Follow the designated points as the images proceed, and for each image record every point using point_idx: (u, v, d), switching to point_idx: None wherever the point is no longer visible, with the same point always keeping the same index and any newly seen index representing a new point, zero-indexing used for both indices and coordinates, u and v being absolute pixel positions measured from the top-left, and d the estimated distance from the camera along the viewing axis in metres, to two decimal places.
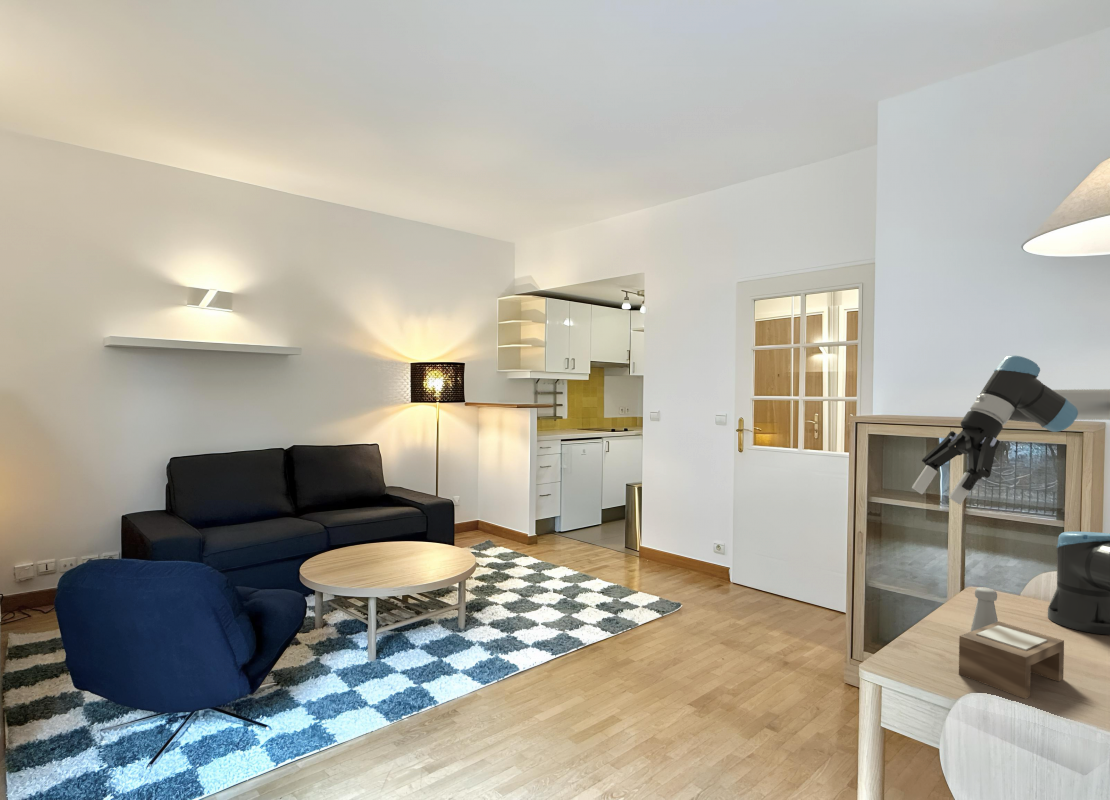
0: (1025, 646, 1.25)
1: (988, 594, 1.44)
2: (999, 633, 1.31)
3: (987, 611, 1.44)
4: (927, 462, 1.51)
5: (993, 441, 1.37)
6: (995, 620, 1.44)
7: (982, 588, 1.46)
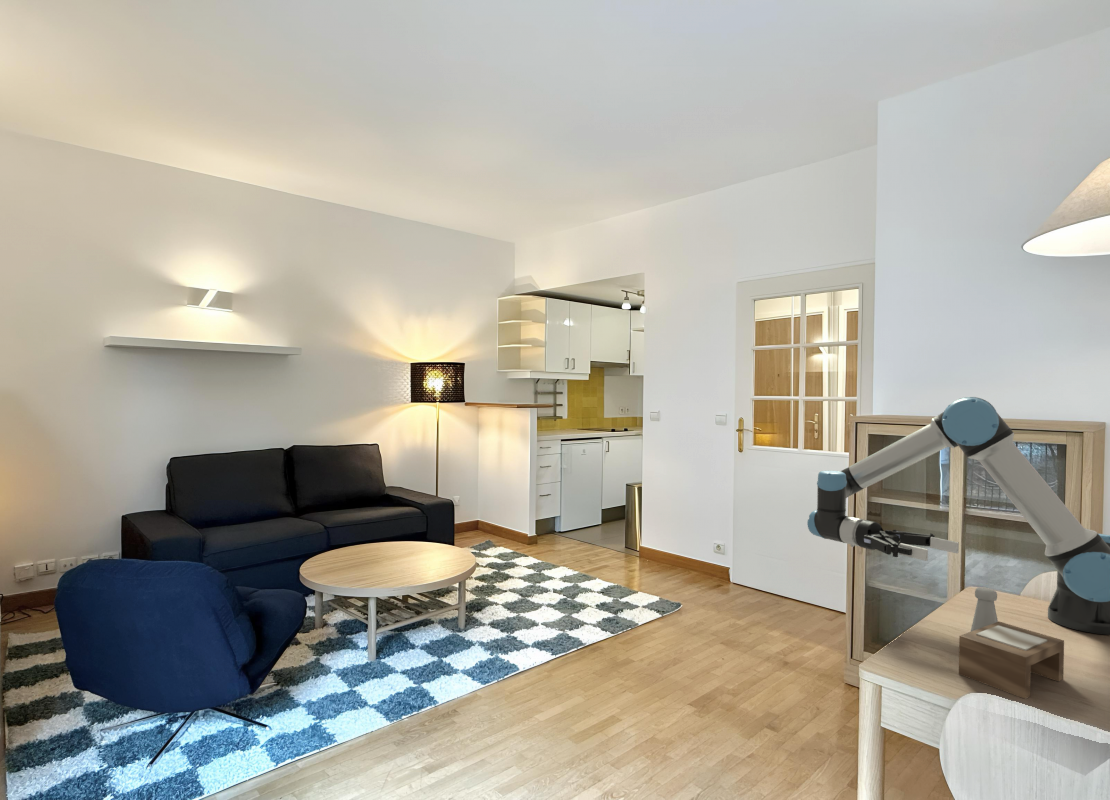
0: (1025, 646, 1.25)
1: (988, 594, 1.44)
2: (999, 633, 1.31)
3: (987, 611, 1.44)
4: (929, 545, 1.64)
5: (866, 541, 1.64)
6: (995, 620, 1.44)
7: (982, 588, 1.46)
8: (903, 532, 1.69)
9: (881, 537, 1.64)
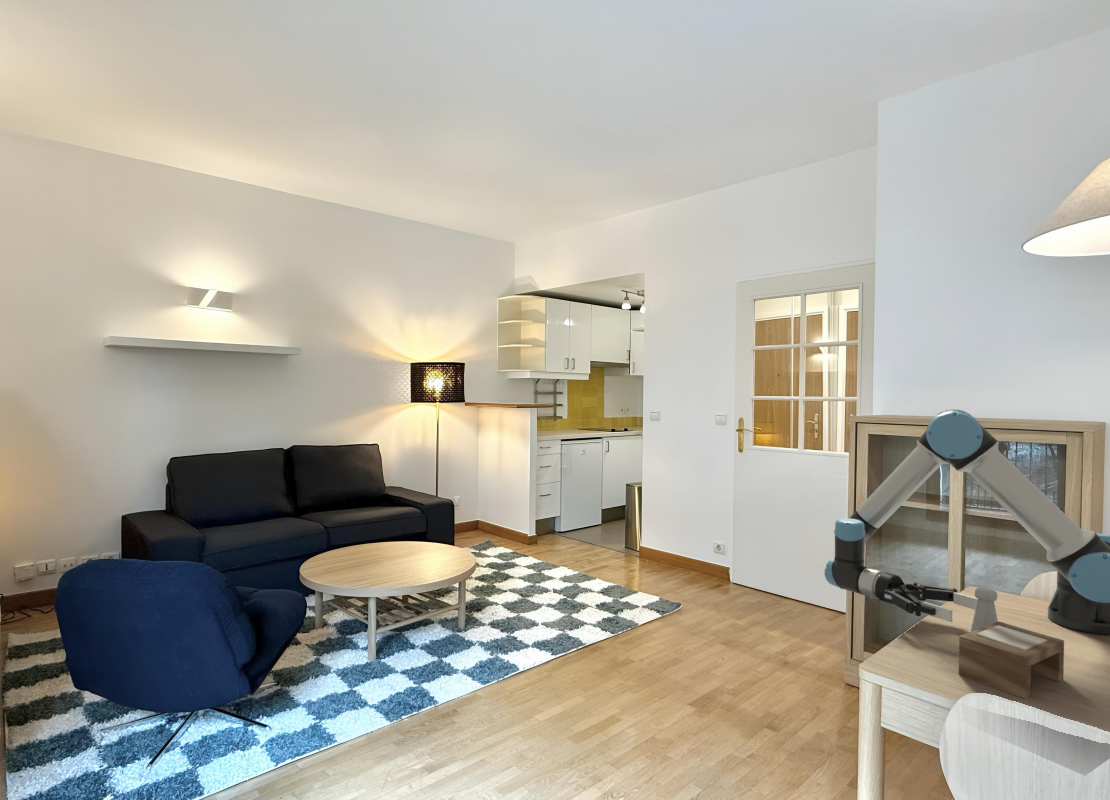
0: (1025, 646, 1.25)
1: (988, 594, 1.44)
2: (999, 633, 1.31)
3: (987, 611, 1.44)
4: None
5: (887, 596, 1.59)
6: (995, 620, 1.44)
7: (982, 588, 1.46)
8: (925, 586, 1.63)
9: (902, 592, 1.59)
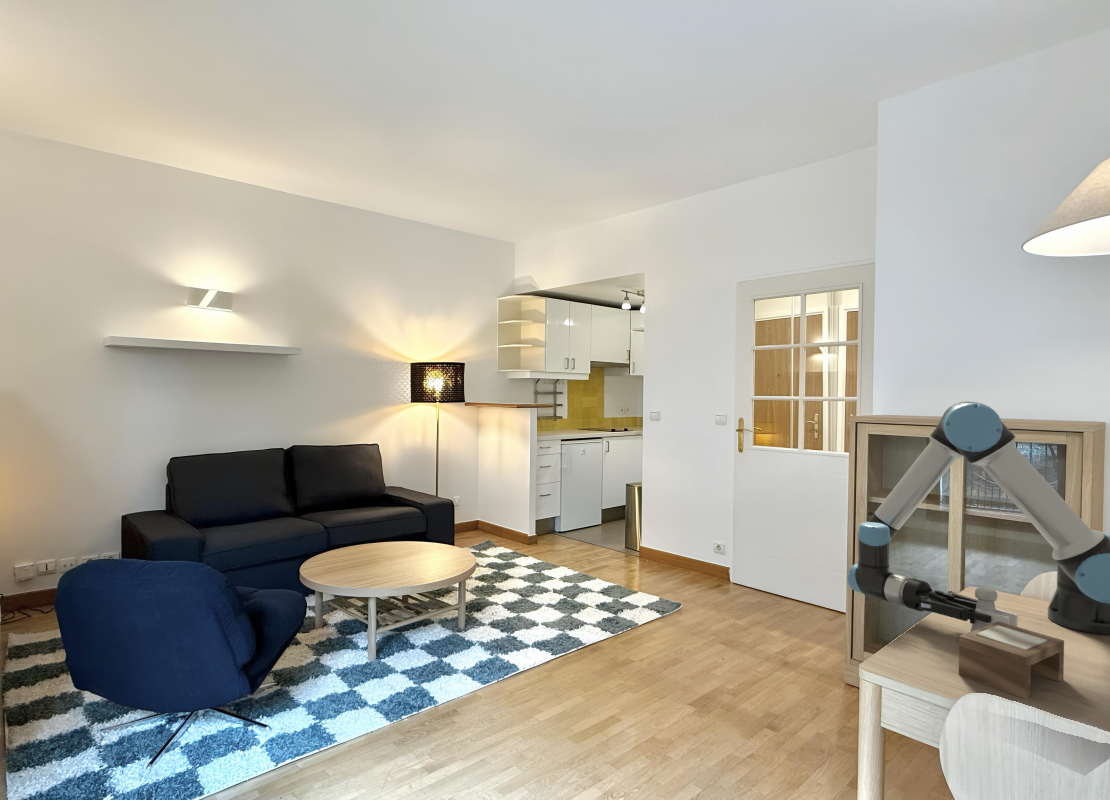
0: (1025, 646, 1.25)
1: (988, 594, 1.44)
2: (999, 633, 1.31)
3: None
4: None
5: (925, 606, 1.51)
6: None
7: (982, 588, 1.46)
8: (956, 595, 1.56)
9: (937, 600, 1.53)
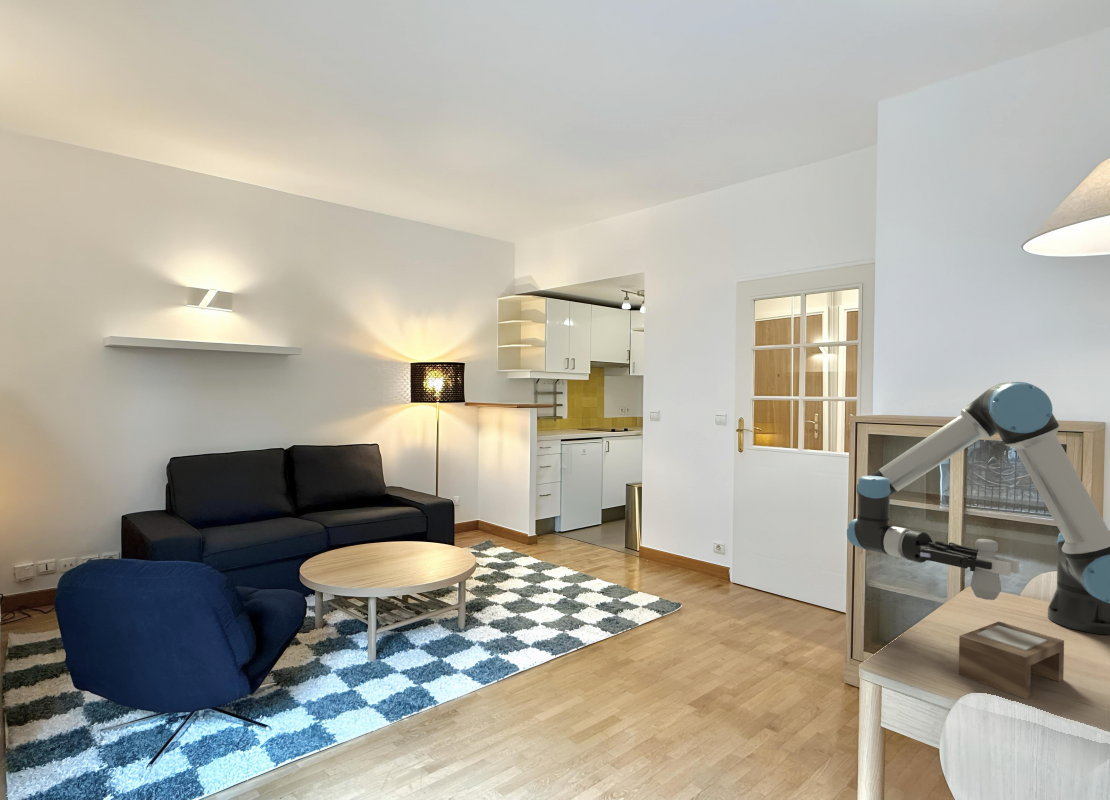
0: (1025, 646, 1.25)
1: (989, 544, 1.40)
2: (999, 633, 1.31)
3: None
4: None
5: (925, 555, 1.48)
6: None
7: (983, 539, 1.43)
8: (957, 545, 1.52)
9: (937, 549, 1.50)
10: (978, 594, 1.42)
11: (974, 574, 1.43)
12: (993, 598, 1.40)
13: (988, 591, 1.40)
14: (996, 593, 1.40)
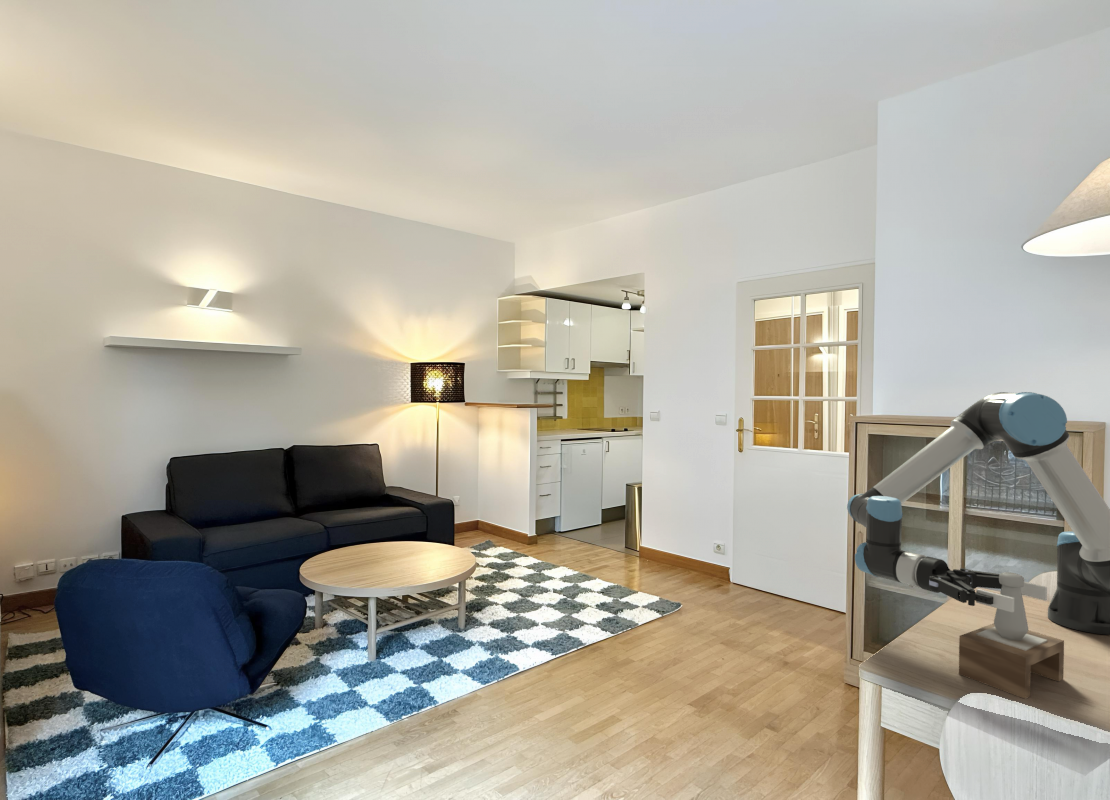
0: (1025, 646, 1.25)
1: (1015, 580, 1.27)
2: None
3: (1014, 599, 1.28)
4: None
5: (932, 584, 1.37)
6: (1023, 609, 1.28)
7: (1007, 573, 1.30)
8: (974, 572, 1.41)
9: (950, 579, 1.37)
10: (1003, 634, 1.29)
11: (998, 612, 1.30)
12: (1020, 639, 1.28)
13: (1015, 631, 1.27)
14: (1023, 633, 1.27)
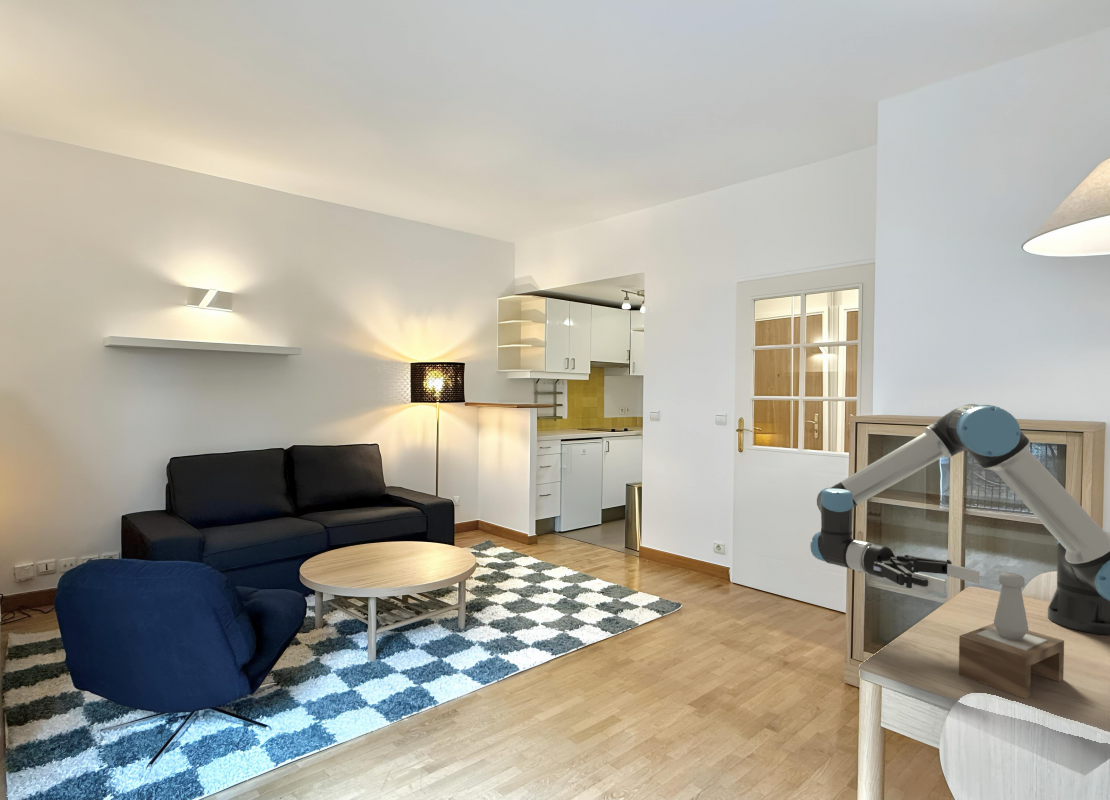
0: (1025, 646, 1.25)
1: (1015, 580, 1.27)
2: None
3: (1014, 598, 1.28)
4: None
5: (876, 569, 1.48)
6: (1023, 609, 1.28)
7: (1007, 573, 1.30)
8: (916, 558, 1.52)
9: (892, 564, 1.48)
10: (1003, 634, 1.29)
11: (998, 612, 1.30)
12: (1020, 639, 1.28)
13: (1015, 631, 1.27)
14: (1023, 633, 1.27)
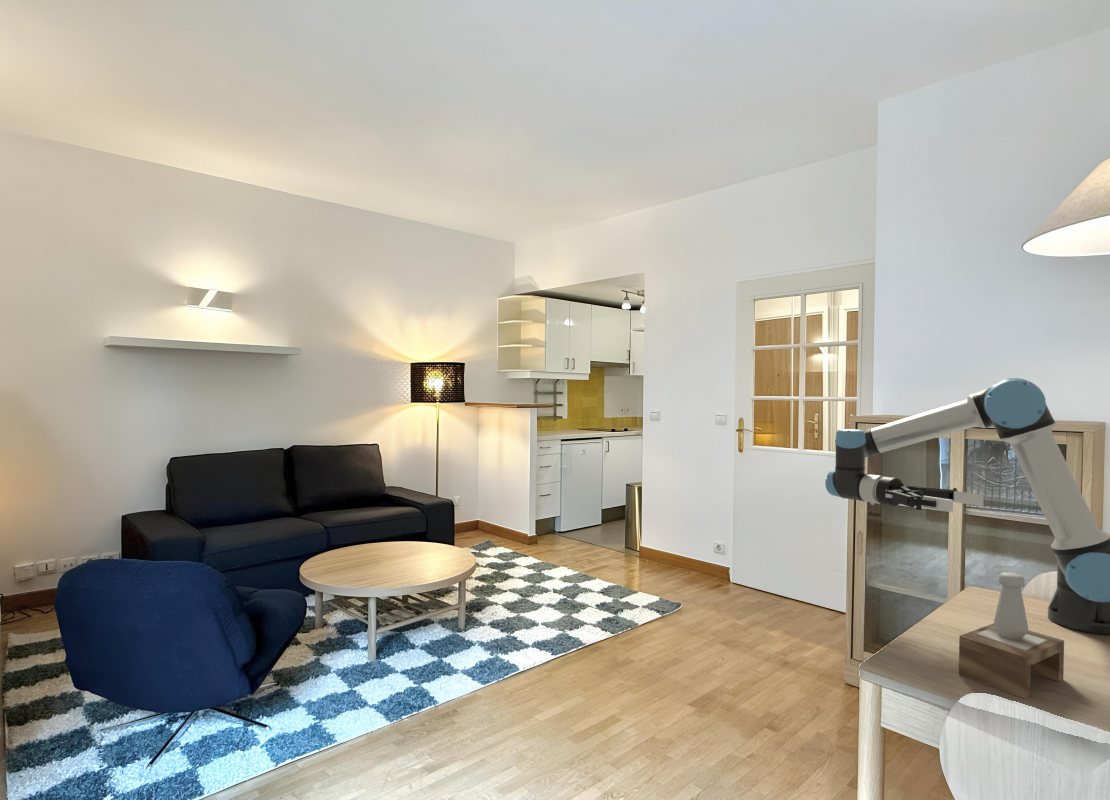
0: (1025, 646, 1.25)
1: (1015, 580, 1.27)
2: None
3: (1014, 598, 1.28)
4: (953, 500, 1.60)
5: (888, 496, 1.60)
6: (1023, 609, 1.28)
7: (1007, 573, 1.30)
8: (925, 488, 1.64)
9: (903, 492, 1.60)
10: (1003, 634, 1.29)
11: (998, 612, 1.30)
12: (1020, 639, 1.28)
13: (1015, 631, 1.27)
14: (1023, 633, 1.27)
